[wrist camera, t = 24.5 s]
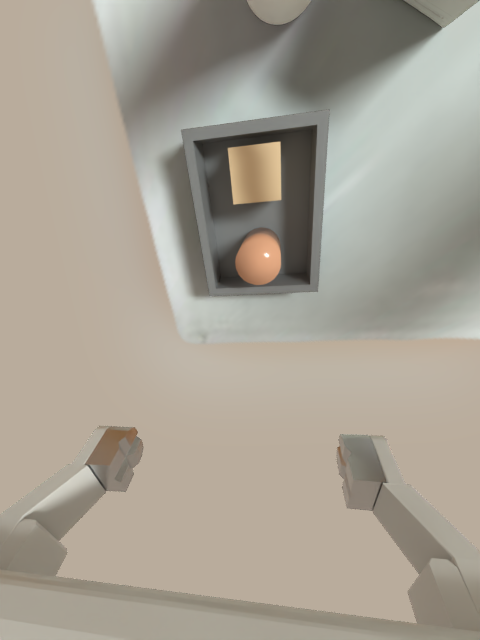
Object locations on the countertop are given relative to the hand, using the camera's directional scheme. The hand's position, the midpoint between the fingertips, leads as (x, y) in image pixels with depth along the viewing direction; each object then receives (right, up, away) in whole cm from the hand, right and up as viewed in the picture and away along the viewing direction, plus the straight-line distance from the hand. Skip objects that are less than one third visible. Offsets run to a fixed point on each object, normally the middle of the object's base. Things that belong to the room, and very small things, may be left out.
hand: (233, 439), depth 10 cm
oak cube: (+2, +22, +20) cm, 29 cm away
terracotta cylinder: (+3, +14, +24) cm, 28 cm away
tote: (+3, +18, +23) cm, 29 cm away
